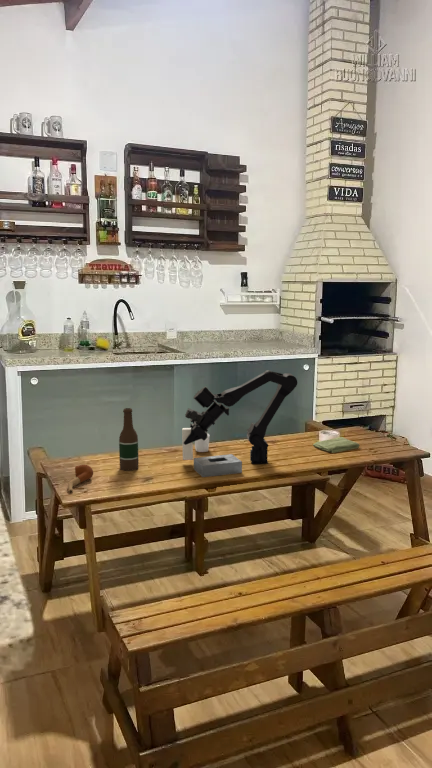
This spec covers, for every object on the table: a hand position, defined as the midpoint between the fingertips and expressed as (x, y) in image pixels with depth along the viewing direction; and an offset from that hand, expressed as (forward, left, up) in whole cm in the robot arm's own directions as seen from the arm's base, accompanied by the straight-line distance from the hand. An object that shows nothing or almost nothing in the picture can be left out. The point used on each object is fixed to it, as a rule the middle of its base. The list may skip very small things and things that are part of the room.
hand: (184, 443), depth 260 cm
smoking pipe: (+36, +25, -9) cm, 45 cm away
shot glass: (-6, -21, -9) cm, 24 cm away
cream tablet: (-1, 0, -7) cm, 7 cm away
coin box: (-13, +9, -9) cm, 18 cm away
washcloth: (-66, -25, -9) cm, 71 cm away
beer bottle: (+22, +5, -9) cm, 24 cm away
